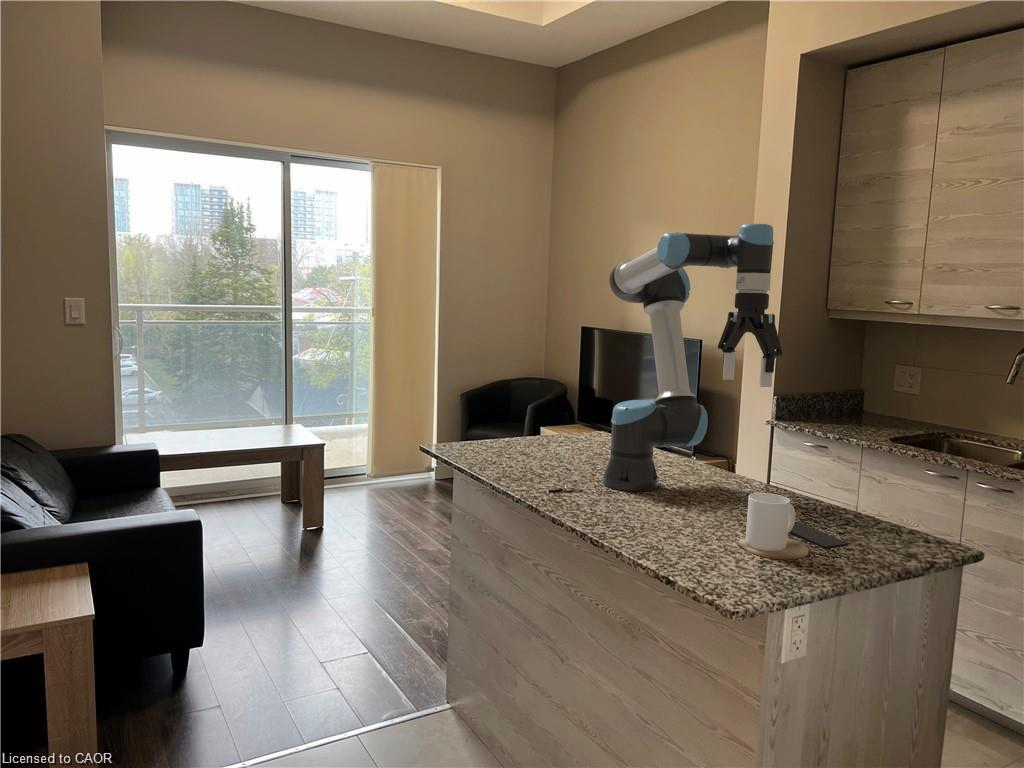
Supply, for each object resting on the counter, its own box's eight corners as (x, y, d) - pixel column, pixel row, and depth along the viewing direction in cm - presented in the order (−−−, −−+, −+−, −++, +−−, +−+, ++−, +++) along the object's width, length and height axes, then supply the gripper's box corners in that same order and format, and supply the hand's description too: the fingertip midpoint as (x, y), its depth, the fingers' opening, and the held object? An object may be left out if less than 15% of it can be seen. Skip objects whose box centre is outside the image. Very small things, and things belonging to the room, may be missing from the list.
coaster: (725, 540, 161) (725, 537, 161) (777, 534, 166) (777, 531, 166) (768, 562, 148) (768, 559, 148) (823, 555, 153) (823, 552, 153)
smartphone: (825, 547, 157) (775, 524, 171) (824, 551, 158) (774, 528, 171) (850, 543, 160) (799, 521, 174) (850, 547, 161) (799, 525, 174)
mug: (778, 534, 164) (781, 489, 162) (808, 546, 156) (811, 499, 155) (737, 541, 158) (740, 494, 157) (765, 554, 151) (769, 505, 150)
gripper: (706, 291, 181) (701, 376, 184) (775, 292, 158) (768, 390, 161) (732, 291, 184) (726, 376, 187) (803, 293, 161) (796, 389, 163)
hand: (746, 383), depth 174 cm, fingers open, 13 cm apart
